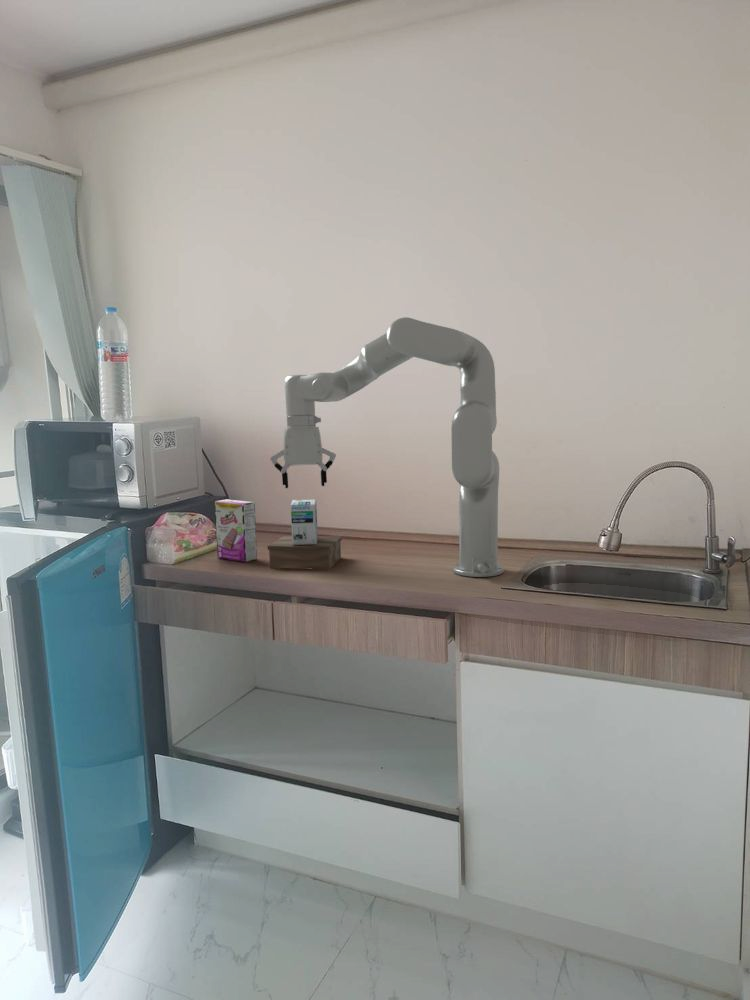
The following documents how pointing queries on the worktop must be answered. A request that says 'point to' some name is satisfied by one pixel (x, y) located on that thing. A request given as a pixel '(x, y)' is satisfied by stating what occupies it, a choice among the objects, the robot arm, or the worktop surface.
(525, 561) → the worktop surface
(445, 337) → the robot arm
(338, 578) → the worktop surface
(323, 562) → the walnut box
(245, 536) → the candy bar box
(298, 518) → the light bulb box
